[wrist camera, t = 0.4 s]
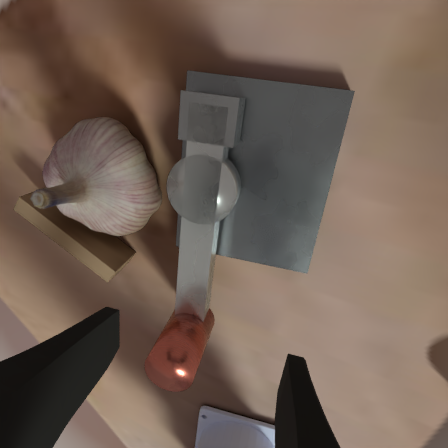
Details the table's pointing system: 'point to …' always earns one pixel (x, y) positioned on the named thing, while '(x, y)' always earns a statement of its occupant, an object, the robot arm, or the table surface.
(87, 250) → the bar
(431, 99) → the table surface
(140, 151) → the garlic bulb
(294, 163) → the base
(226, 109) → the lever
